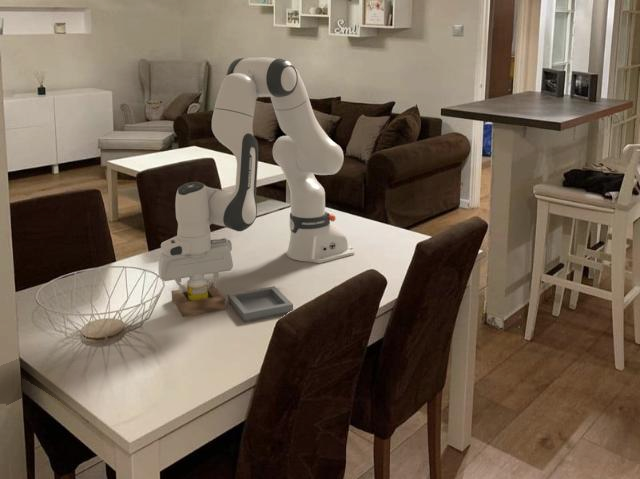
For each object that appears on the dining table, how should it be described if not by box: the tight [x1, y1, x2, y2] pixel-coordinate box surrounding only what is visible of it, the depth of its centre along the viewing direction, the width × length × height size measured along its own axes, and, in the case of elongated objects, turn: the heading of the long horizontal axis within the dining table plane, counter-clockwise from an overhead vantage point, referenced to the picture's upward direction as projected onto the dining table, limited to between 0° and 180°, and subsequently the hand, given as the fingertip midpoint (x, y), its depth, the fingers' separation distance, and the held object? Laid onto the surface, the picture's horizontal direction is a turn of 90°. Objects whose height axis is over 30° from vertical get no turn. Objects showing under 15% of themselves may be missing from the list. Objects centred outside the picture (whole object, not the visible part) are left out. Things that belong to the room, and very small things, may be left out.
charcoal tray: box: [227, 285, 294, 323], centre depth 202 cm, size 14×14×2 cm
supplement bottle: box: [186, 274, 208, 302], centre depth 202 cm, size 5×5×10 cm
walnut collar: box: [171, 284, 226, 318], centre depth 203 cm, size 12×12×3 cm
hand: (197, 289), depth 202 cm, fingers open, 7 cm apart
